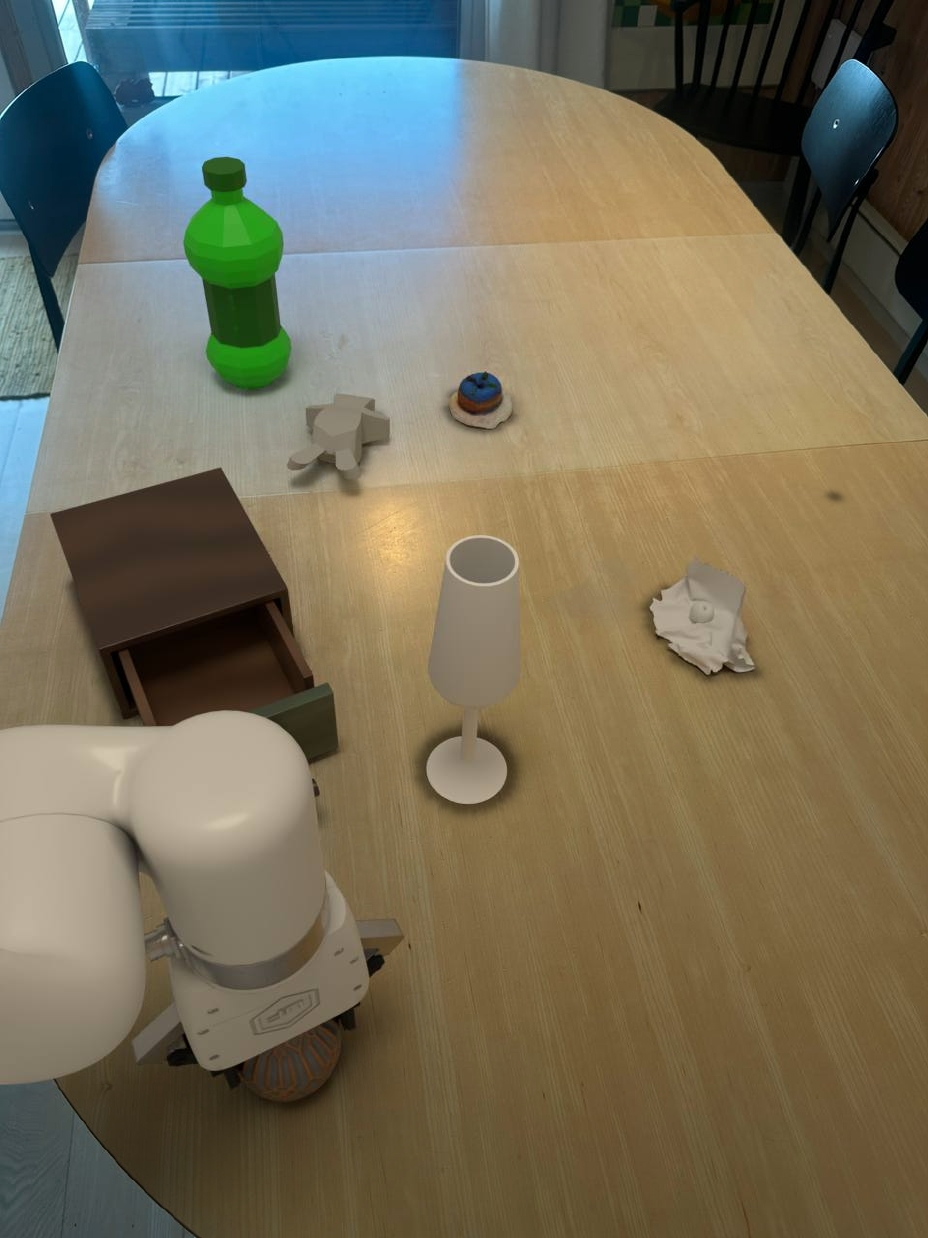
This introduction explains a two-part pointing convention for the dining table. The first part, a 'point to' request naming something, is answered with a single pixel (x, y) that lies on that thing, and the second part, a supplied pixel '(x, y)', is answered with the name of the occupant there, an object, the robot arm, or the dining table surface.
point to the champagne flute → (474, 661)
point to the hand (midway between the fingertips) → (286, 1035)
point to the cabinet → (165, 564)
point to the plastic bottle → (238, 278)
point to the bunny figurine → (341, 433)
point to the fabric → (705, 619)
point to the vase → (295, 1064)
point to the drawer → (233, 677)
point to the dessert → (481, 401)
